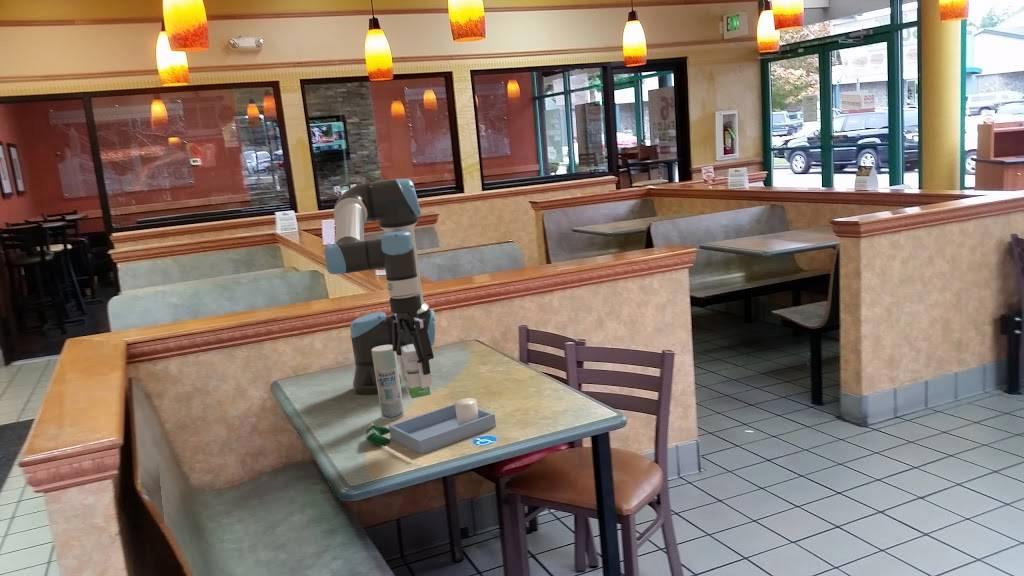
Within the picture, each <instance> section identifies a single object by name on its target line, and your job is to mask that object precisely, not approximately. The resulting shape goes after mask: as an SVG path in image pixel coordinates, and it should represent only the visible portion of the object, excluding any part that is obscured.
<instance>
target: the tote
mask: <svg viewBox="0 0 1024 576" xmlns="http://www.w3.org/2000/svg"><path fill="white" fill-rule="evenodd" d="M477 408H478V415H479V419H477V420H474V421H471V422H468V423H465V424H463V425H460V426H458V423H457V416H456V409H455V403H452V404H450V405H447V406H443V407H441V408H438V409H434V410H432V411H429V412H426V413H424V414H420V415H416V416H415V417H414V416H413V417H412V418H408V419H405V420H402V421H400V422H396V423H393V424H390V425H388V429H389V430H390V432H389V436H390V440H393V441H395V442H397V443H399V444H401V445H403V446H405V447H407V448H409V449H410V450H412V451H414V452H416V453H418V454H420V455H423V454H426V453H429V452H431V451H434V450H436V449H439V448H442V447H444V446H448V445H450V444H454V443H455V442H456V443H457V442H459V441H461V440H464V439H466V438H469V437H472V436H475V435H477V434H480V433H483V432H486V431H488V430H491V429H493V428H496V427H497V422H496V416H495V413H492V412H490V411H487V410H484V409H482V408H479V407H477Z"/></svg>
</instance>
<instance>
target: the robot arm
mask: <svg viewBox="0 0 1024 576" xmlns="http://www.w3.org/2000/svg"><path fill="white" fill-rule="evenodd" d="M421 216H422V212H421V207H420V203H419V199H418V196H417V193H416V188H415V185H414V182H413V181H412V179H410V178H395V179H386V180H379V181H372V182H365V183H359V184H356V185H354V186H352V187H350V188H349V189H347V190H346V191H344V192H343V193H342V194H341V195H340V197H338V199H337V201H336V203H335V204H334V207H333V218H334V220H335V222H336V225H335V236H334V243H333V244H331V245H330V244H329V245H326V246H325V247H324V253H323V254H324V261H325V267H326V270H327V272H328V273H329V274H331V275H346V274H351V273H356V272H357V273H358V272H365V271H374V270H381V269H384V271H385V276H386V277H385V279H386V289H387V290H388V296H390V298H389V301H388V302H389V306H390V312H391V313H392V314H390V315H389V316H387V314H386V312H385V311H376V312H372V313H368V314H365V315H362V316H359V317H357V318H355V319H354V320H352V321H351V323H350V325H349V330H350V336H349V337H350V339H351V344H352V349H353V350H352V351H353V357H354V358H353V359H354V364H355V368H354V374H353V380H352V390H353V392H354V393H355V394H359V395H376V394H378V389H377V383H376V376H375V370H374V364H373V357H372V351H371V350H372V349H373V348H375V347H377V346H382V345H392V346H393V351H394V352H395V351H396V356H398V357H397V358H398V364H399V370H400V374H399V379H400V386H401V384H402V381H403V382H404V381H405V374H404V367H403V360H402V353H401V346H403V345H409V344H413V345H414V348H415V350H416V353H417V355H418V358H419V360H418V361H417V363H418V368H419V375H420V382H421V388H425V387H429V388H430V387H432V386H433V380H432V374H431V365H430V360H433V359H434V352H433V348H432V347H433V345H434V344H435V342H436V341H435V340H436V314H435V311H434V309H430V305H429V304H428V303H426V302H425V301H424V296H423V286H422V282H421V281H422V279H421V274H420V267H419V258H418V252H417V250H418V249H417V245H416V244H417V243H416V237H415V236H416V235H415V226H416V225H417V224H418V218H419V217H421ZM375 222H378V225H379V226H378V227H379V228H380V229H382V230H383V231H384V232H385V233H384V234H382V235H381V237H380V238H378V239H377V238H376V239H370V240H365V223H375Z"/></svg>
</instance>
